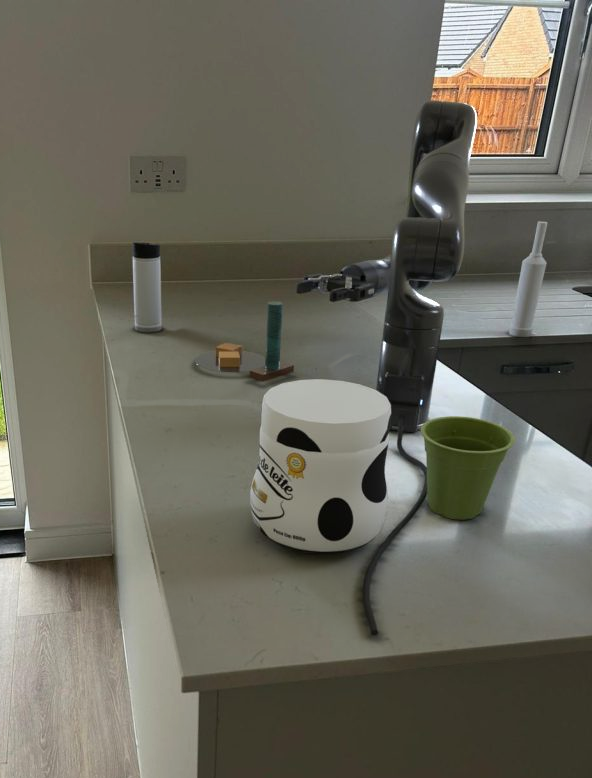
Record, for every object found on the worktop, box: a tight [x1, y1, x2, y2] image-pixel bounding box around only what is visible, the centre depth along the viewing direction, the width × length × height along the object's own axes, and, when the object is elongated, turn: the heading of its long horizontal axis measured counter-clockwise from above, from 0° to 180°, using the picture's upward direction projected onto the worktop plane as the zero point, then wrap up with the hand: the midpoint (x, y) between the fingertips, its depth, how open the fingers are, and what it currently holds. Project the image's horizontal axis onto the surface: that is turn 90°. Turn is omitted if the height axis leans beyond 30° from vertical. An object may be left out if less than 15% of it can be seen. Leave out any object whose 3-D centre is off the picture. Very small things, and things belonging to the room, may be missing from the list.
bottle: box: [508, 221, 548, 338], centre depth 178 cm, size 5×5×25 cm
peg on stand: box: [249, 301, 295, 382], centre depth 150 cm, size 9×4×15 cm, turn 133°
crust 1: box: [215, 342, 243, 357], centre depth 163 cm, size 4×4×2 cm
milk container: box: [249, 378, 391, 555], centre depth 98 cm, size 17×17×18 cm
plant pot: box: [420, 415, 516, 521], centre depth 105 cm, size 12×12×11 cm
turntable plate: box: [194, 349, 266, 373], centre depth 161 cm, size 15×15×1 cm
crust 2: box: [219, 352, 240, 367], centre depth 158 cm, size 4×4×2 cm
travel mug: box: [132, 241, 163, 334], centre depth 180 cm, size 6×7×20 cm
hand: (314, 292), depth 153 cm, fingers open, 8 cm apart
